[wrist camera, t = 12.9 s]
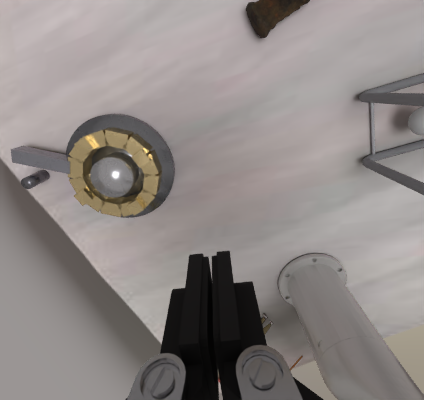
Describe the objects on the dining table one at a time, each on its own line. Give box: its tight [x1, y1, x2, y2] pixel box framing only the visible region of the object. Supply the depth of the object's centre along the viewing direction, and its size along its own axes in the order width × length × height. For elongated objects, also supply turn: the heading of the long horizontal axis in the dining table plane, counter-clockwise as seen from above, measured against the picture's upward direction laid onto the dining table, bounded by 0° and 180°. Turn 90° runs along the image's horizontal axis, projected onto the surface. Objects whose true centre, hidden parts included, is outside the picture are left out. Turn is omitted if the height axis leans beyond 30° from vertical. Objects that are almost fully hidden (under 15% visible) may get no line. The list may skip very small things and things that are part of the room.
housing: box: [21, 114, 174, 218], centre depth 36 cm, size 16×21×5 cm
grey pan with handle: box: [11, 127, 162, 217], centre depth 35 cm, size 20×12×4 cm, turn 77°
